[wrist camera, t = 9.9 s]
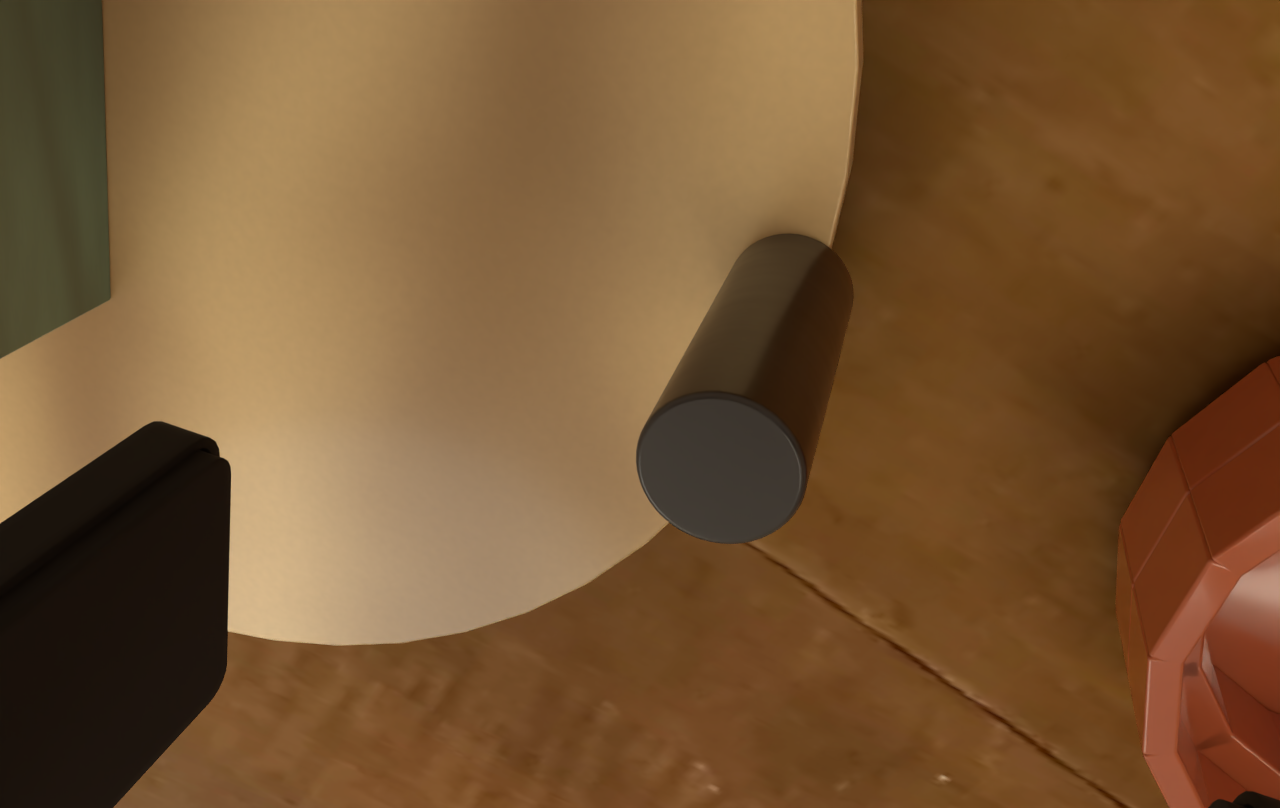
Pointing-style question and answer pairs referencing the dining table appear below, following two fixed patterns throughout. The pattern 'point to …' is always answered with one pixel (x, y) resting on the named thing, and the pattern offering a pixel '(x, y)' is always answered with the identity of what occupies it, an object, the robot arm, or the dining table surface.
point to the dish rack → (429, 280)
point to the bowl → (1208, 600)
